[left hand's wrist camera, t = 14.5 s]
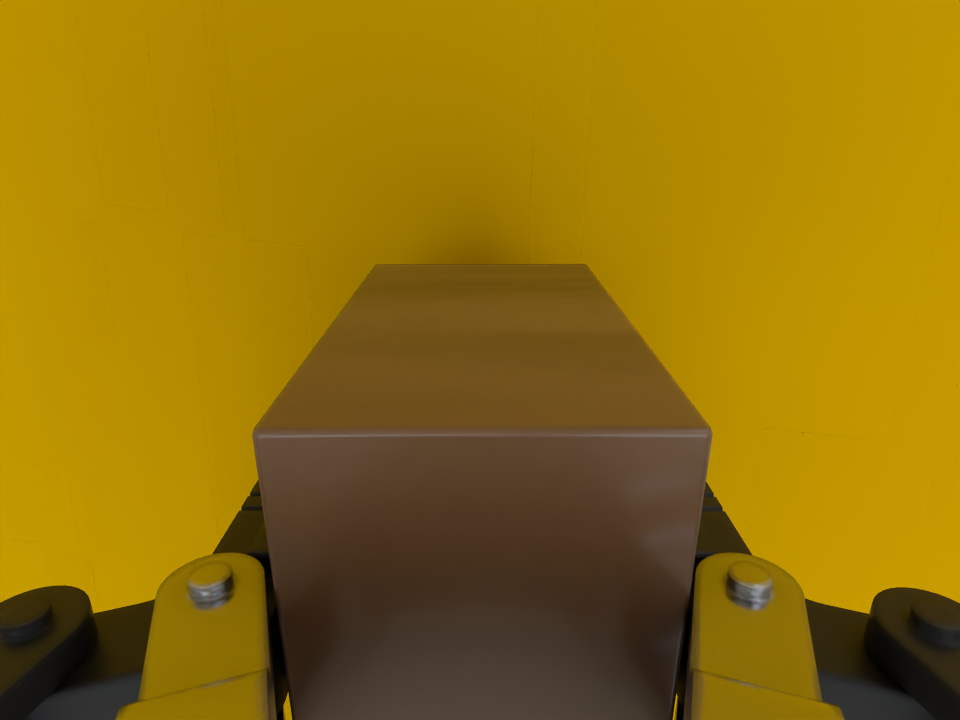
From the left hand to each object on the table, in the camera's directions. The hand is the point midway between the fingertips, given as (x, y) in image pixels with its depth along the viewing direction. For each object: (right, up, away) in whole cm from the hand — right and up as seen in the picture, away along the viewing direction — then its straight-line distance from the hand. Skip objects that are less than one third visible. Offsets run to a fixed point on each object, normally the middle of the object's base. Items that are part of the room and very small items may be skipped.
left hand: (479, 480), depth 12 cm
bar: (0, -8, +7) cm, 11 cm away
